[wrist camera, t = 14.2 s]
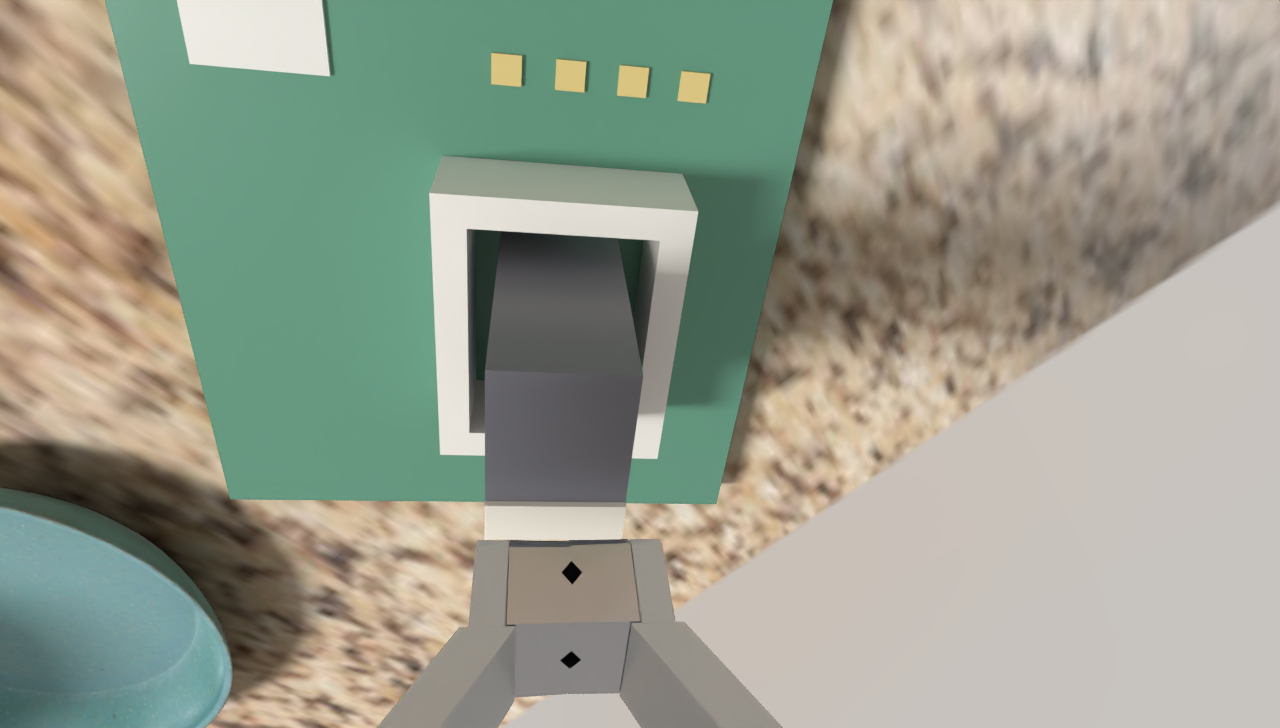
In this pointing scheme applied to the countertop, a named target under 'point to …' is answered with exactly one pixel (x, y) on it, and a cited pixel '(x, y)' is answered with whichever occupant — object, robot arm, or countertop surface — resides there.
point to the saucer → (100, 625)
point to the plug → (559, 390)
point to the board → (458, 214)
